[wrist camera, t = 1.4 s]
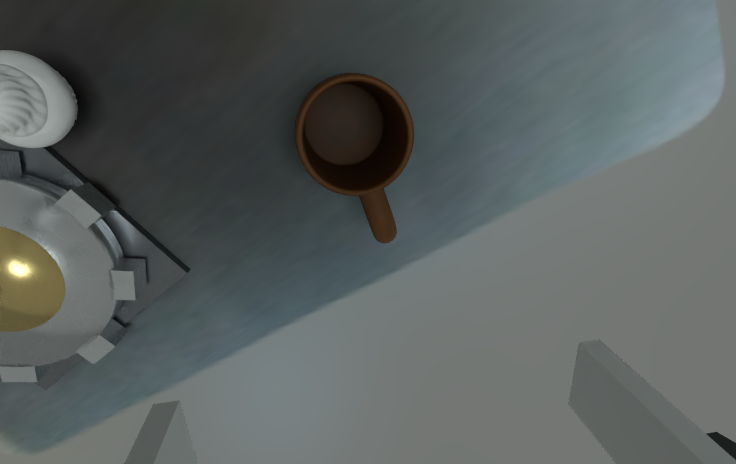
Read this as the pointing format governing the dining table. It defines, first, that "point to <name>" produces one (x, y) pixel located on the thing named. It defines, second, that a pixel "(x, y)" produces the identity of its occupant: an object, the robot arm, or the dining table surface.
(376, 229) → the mug
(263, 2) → the dining table surface
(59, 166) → the base plate
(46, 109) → the muffin
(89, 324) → the sprocket
